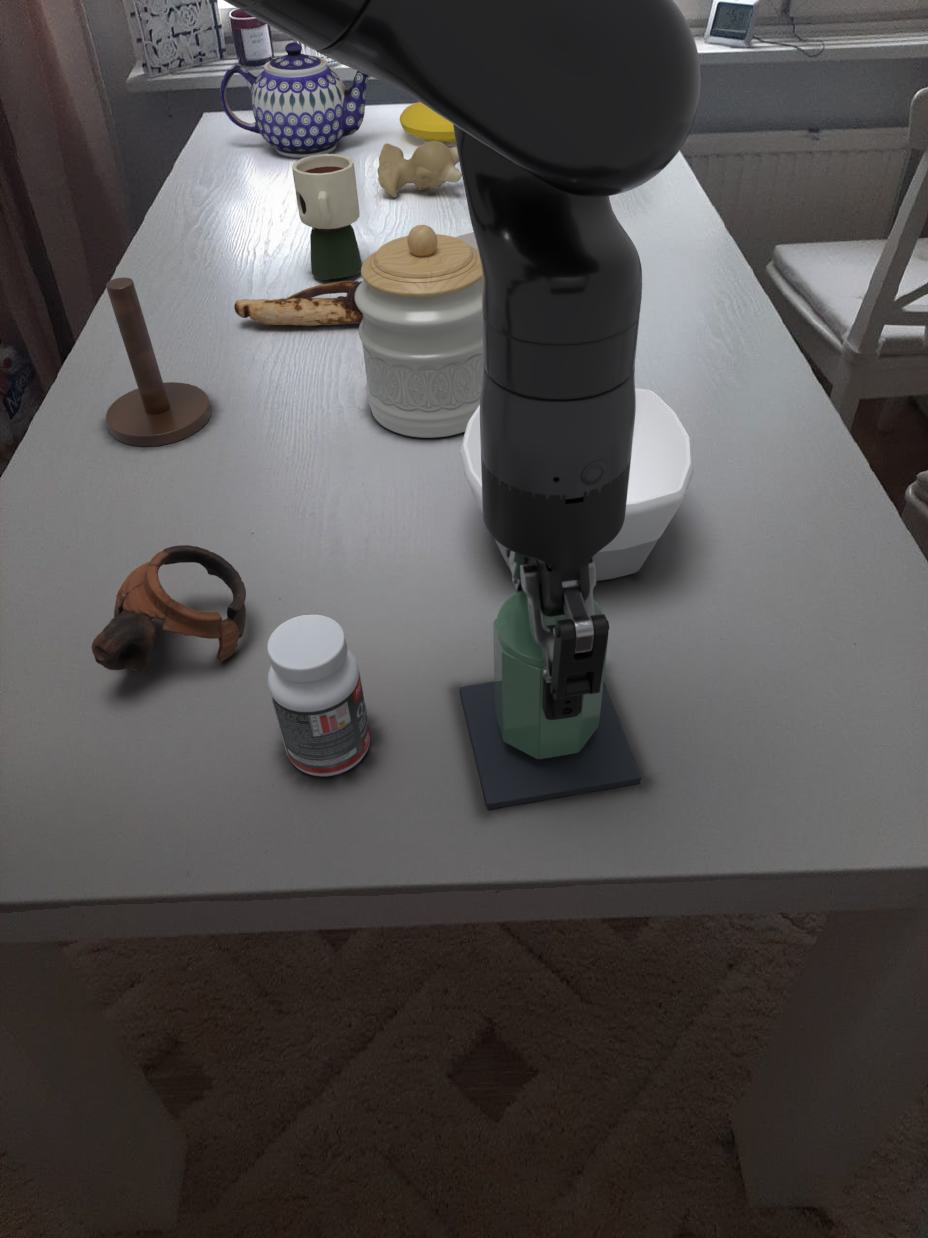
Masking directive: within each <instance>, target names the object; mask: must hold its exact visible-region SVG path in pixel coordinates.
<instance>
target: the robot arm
mask: <svg viewBox="0 0 928 1238" xmlns="http://www.w3.org/2000/svg"><path fill="white" fill-rule="evenodd" d="M223 1H224V2H225V3H228V4H229V5H231V6H233V7H235V8H236V9H239V10H240V11H242V12H244V13H246V14H247V15H250V16H251V17H253V18H255V19H257V20H259V21H261V22H263V24H266V25H267V26H268V27H269V26H270V27H271V28H273V29H275V30H277V31H279V32H280V33H282V34H284V35H286V36H288V37H289V38H291V39H293V40H294V41H296V42H297V43H298V42H299V44H302V45H304V46H305V47H307V48H309V49H311V50H313V51H315V52H316V53H317V54H320V55H322V56H325V57H326V58H328V59H330V60H332V61H334V62H336V63H338V64H340V65H342V66H346V67H348V68H350V69H352V70H355V71H356V72H357V71H360V72H362V73H364V74H366V75H369V76H371V77H370V78H373V79H375V80H379V81H381V82H383V83H385V84H387V85H389V86H392V87H394V88H395V89H398V90H400V91H402V92H403V93H405V94H407V95H408V96H410V97H412V98H413V99H415V100H416V101H417V102H421V103H423V104H424V105H426V106H427V107H429V108H430V109H431V110H433V111H434V112H436V113H437V114H439V115H440V116H442V117H443V118H445V119H446V120H448V121H449V122H451V123H453V126H454V134H455V140H456V142H455V147H457V152H458V157H459V163H458V164H459V168H460V173H461V174H462V177H461V179H462V183H463V188H464V192H465V196H466V197H465V198H466V201H467V202H466V203H467V208H468V214H469V219H470V223H471V228H472V232H474V235H475V239H476V243H477V246H478V250H479V255H480V260H481V266H482V274H483V292H482V323H483V361H484V370H483V382H482V389H481V397H480V441H481V472H482V508H483V514H482V519H483V522H484V525H485V527H486V529H487V531H488V533H489V534H490V536H491V537H492V538H493V539H494V541H495V540H496V541H497V542H499V543H500V544H501V545H503V546H504V547H506V548H507V550H506V556H507V558H509V562H510V567H511V571H510V573H511V580H512V581H511V582H512V584H513V585H514V587H515V590H516V593H518V592H519V591H522V590H523V591H524V592H525V593H526V594H527V600H528V610H529V619H530V629H531V635H532V637H533V639H534V640H535V641H536V643H537V644H538V645H540V646H541V650H542V661H543V669H542V674H543V677H544V679H543V711H544V714H545V717H546V719H548V720H557V719H563V718H570V717H576V716H578V714H580V712H581V710H582V697H583V695H584V694H595V693H599V692H600V687H601V680H602V673H603V667H604V660H605V653H606V654H607V652H606V647H607V648H608V643H607V640H608V641H609V632H610V631H609V630H610V622H609V620H608V618H607V616H606V614H605V613H603V614H598V615H595V613H594V602H595V600H594V588H595V587H596V586H597V581H596V569H595V562H594V558H593V556H594V555H595V554H596V553H598V552H599V551H600V550H601V549H603V548H604V547H605V546H607V545H608V544H609V543H610V542H611V541H613V540H614V538H615V537H616V536H617V535H618V533H619V532H620V530H621V528H622V526H623V523H624V520H625V512H626V502H627V493H628V483H629V473H630V464H631V454H632V444H633V434H634V424H635V412H636V395H635V388H636V379H635V378H636V377H635V375H636V374H635V373H636V357H637V347H638V336H639V326H640V325H639V324H640V314H641V309H642V308H641V307H642V299H643V269H642V263H641V258H640V255H639V252H638V250H637V247H636V245H635V244H634V242H633V240H632V239H631V237H630V235H629V234H628V233H627V231H626V230H625V229H624V227H623V226H622V224H621V223H620V221H619V220H618V218H617V216H616V214H615V212H614V210H613V207H612V204H611V203H612V202H611V200H610V197H611V196H616V195H621V194H624V193H627V192H629V191H633V190H634V189H636V188H638V187H641V186H643V185H644V184H646V183H647V182H649V181H651V180H652V179H653V178H655V177H656V176H657V175H659V174H660V173H661V172H662V171H663V170H664V169H665V168H666V167H667V166H668V165H669V164H670V163H671V162H672V161H673V159H674V158H675V157H676V156H677V155H678V153H679V152H680V151H681V149H682V148H683V146H684V144H685V142H686V140H687V139H688V137H689V135H690V133H691V130H692V127H693V125H694V122H695V119H696V115H697V111H698V108H699V103H700V97H701V96H700V95H701V83H702V82H701V78H702V77H701V76H702V75H701V64H700V56H699V52H698V49H697V47H698V46H697V44H696V39H695V37H694V34H693V32H692V29H691V27H690V24H689V23H688V21H687V19H686V17H685V16H684V15H685V14H683V11H682V10H681V9H680V7H679V6H678V5H677V3H676V2H675V1H674V0H223ZM496 541H495V542H496ZM542 614H544V615H545V616H549V617H553V616H559V615H565V620H559V621H556V624H555V625H549V626H545V625H543V619H542Z"/></svg>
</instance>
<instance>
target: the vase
mask: <svg viewBox="0 0 928 1238" xmlns="http://www.w3.org/2000/svg"><path fill="white" fill-rule="evenodd" d="M399 123H400V125H401V128H402V129H403V130H404V132H406V133H408V134H409V135H412V136H413V137H416V138H417V139H420V140H423V141H426V142H429V141H439V142H442V143H443V144H446V143H456V140H455V134H454V126H453V123H451V122H449V121H448V120H446V119H445V118H443V117H442V116H440V115H439V114H437V113H436V112H434V111H433V110H431V109H430V108H429V107H427V106H426V105H424V104H423V103H421V102H420V101H417V102H414V103H411V104H410V105H408V106H407V107H405V108H404V109H403V111H402V112H401V113H400V115H399Z"/></svg>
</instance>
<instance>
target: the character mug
mask: <svg viewBox="0 0 928 1238" xmlns="http://www.w3.org/2000/svg"><path fill="white" fill-rule="evenodd" d="M354 162H355V161H354V160H353V158H351V157H350V156H347V155H344V154H339V153H327V154H320V155H313V156H309V157H305V158H299V159H298V160H296V161H294V162H293V163H292V164H291V170H292V177H293V183H294V184H293V185H294V189H295V196H296V197H295V198H296V204H297V209H298V216H299V219H300V222H301V223H302V224H303V225H305V226H307V227H310V228H311V231H310V236H309V238H310V269H311V270H310V271H311V274H312V276H313V277H314V278H315V279H319V280H323V281H326V280H336V281H337V280H339V279H341V278H347V277H352V276H354V275H358V274H359V273H361V267H362V264H363V261H362V258H361V257H362V256H361V253H360V248H359V245H358V240H357V237H356V233H355V229H354V228H353V226H352V224H354V223H355V222H357V221H358V219H359V218H360V204H359V196H358V188H357V178H356V168H355V163H354Z"/></svg>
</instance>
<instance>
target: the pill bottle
mask: <svg viewBox="0 0 928 1238" xmlns="http://www.w3.org/2000/svg"><path fill="white" fill-rule="evenodd" d="M345 635H346V634H345V632H344V630H343V628H342V626H341V625H340V624H339V623H338V622H337V621H336V620H334V619H333V618H331V617H328V616H326V615H321V614H302V615H298V616H294V617H291V618H290V619H288V620H286V621H284V622H282V623H281V624H280V625H279V626H277V627H276V628H274V630H273V632H271V634H270V636H269V638H268V641H267V646H266V647H267V654H268V659H269V662H270V666H269V669H268V673H267V686H268V690H269V692H268V693H269V696H270V699H271V702H272V706H273V709H274V712H275V716H276V720H277V724H278V728H279V732H280V734H281V738H282V743H283V745H284V748H285V752H286V755H287V757H288V759H289V761H290V762H291V764H292V765H293V766H294V767H295V768H296V769H298V770H299V771H301V772H303V773H305V774H307V775H310V776H314V777H331V776H336V775H341V774H343V773H345V772H347V771H349V770H351V769H352V768H354V767H355V766H356V765H358V764H359V763H360V762H361V761H362V759H363V758H364V757H365V755H366V754H367V752H368V750H369V748H370V743H371V729H370V723H369V722H370V721H369V718H368V711H367V706H366V702H365V696H364V690H363V685H362V678H361V673H360V667H359V663H358V661H357V660H356V657H355V656H354V654H353V653H352V652H351V650H349V648H348V643H347V640H346V636H345Z"/></svg>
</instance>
